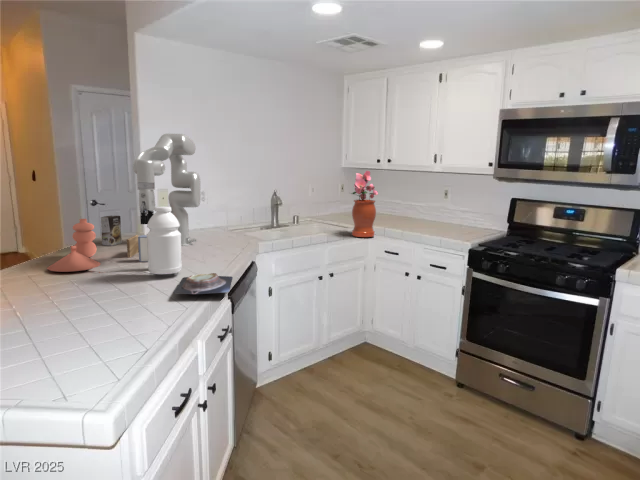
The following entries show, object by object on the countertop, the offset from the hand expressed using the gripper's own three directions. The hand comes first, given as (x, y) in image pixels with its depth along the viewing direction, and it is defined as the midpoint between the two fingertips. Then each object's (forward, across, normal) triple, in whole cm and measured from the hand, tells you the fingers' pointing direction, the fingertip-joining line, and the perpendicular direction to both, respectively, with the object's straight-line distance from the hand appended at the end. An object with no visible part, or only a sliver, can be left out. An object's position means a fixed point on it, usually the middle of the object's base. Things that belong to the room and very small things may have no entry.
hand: (147, 222), depth 201 cm
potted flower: (+17, +80, -121) cm, 146 cm away
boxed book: (+18, +1, 0) cm, 18 cm away
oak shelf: (+18, +21, +5) cm, 28 cm away
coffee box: (+18, +44, +32) cm, 58 cm away
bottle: (+19, -20, -12) cm, 30 cm away
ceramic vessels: (+19, -3, +31) cm, 36 cm away
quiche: (+20, -43, -33) cm, 57 cm away
